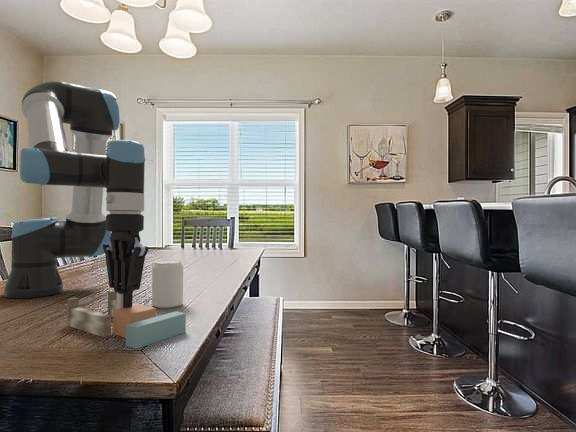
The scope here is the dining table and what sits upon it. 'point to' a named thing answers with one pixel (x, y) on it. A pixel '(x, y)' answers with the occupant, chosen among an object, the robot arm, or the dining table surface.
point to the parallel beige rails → (92, 317)
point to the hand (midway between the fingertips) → (123, 321)
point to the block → (130, 317)
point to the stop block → (155, 329)
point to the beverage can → (167, 284)
